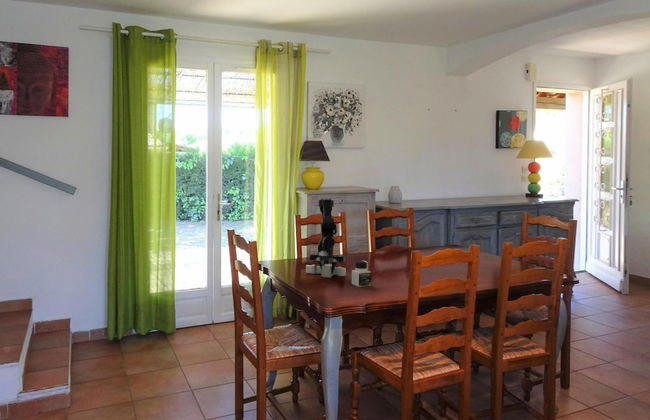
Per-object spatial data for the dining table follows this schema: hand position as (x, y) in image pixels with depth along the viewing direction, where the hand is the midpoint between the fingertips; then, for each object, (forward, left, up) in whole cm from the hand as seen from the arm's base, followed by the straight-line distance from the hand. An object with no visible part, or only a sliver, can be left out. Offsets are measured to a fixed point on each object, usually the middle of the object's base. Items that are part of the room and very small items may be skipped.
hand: (327, 273), depth 284 cm
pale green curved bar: (-4, -1, -1) cm, 4 cm away
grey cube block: (0, 0, -1) cm, 1 cm away
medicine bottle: (+13, +22, -2) cm, 25 cm away
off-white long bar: (-4, -2, -1) cm, 5 cm away
